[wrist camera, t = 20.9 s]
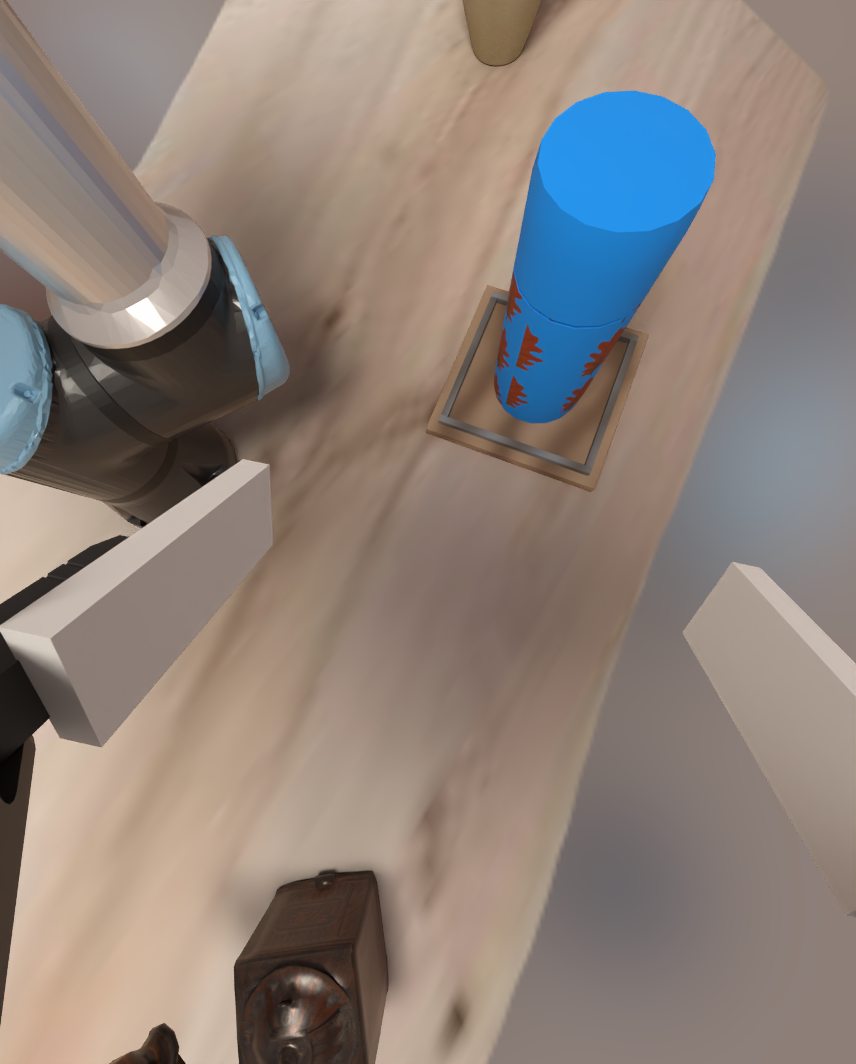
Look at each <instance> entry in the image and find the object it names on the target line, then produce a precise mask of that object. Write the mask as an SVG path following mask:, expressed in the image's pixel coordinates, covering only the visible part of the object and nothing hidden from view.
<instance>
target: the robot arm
mask: <svg viewBox="0 0 856 1064" xmlns="http://www.w3.org/2000/svg"><path fill="white" fill-rule="evenodd" d="M0 250H1V251H2V252H3V253H5V254H6V255H7V256H8V257H10V258H11V259H12V260H13V261H15V262H16V263H17V264H18V265H20V266H21V267H22V268H23V269H25V270H26V271H27V272H28V273H30V274H31V275H32V276H33V277H35V278H36V279H37V280H38V281H40V282H41V283H42V284H43V285H45V286H46V294H47V301H48V305H49V308H50V311H51V313H52V315H53V316H50V317H48V318H46V319H44V320H42V321H36V320H35V319H33V318H32V317H31V316H30V315H29V314H27V313H26V312H24V311H23V310H20V309H16V308H12V307H10V306H8V305H5V304H0V474H5V475H8V476H12V477H16V478H19V479H23V480H27V481H30V482H34V483H38V484H41V485H45V486H49V487H52V488H56V489H60V490H63V491H67V492H71V493H74V494H78V495H82V496H85V497H89V498H93V499H96V500H100V501H102V502H104V503H105V504H106V505H108V506H109V507H110V508H111V509H113V510H114V511H115V512H117V513H118V514H119V515H120V516H122V517H123V518H124V519H125V520H127V521H128V522H130V523H131V524H133V525H135V526H137V527H140V528H142V529H140V530H139V531H137V532H136V533H134V534H133V535H131V536H130V537H126V536H121V535H119V536H117V537H114V538H111V539H109V540H106V541H103V542H101V543H98V544H95V545H92V546H90V547H89V548H87V549H86V550H84V551H83V552H81V553H79V554H78V555H76V556H75V557H73V558H72V559H70V560H69V561H68V563H67V564H66V565H65V564H62V565H61V566H59V567H58V568H56V569H54V570H53V571H51V572H50V573H48V576H47V577H46V578H45V577H42V578H40V579H39V580H37V581H36V582H34V583H33V584H31V585H30V586H28V587H26V588H25V589H23V590H22V591H20V592H19V593H17V594H15V595H14V596H12V597H11V598H9V599H8V600H6V601H5V602H3V603H1V604H0V1024H1V1016H2V1008H3V1000H4V992H5V984H6V977H7V969H8V961H9V953H10V945H11V937H12V929H13V922H14V914H15V906H16V898H17V890H18V882H19V875H20V867H21V859H22V851H23V843H24V835H25V828H26V820H27V812H28V804H29V796H30V788H31V780H32V773H33V765H34V757H35V749H36V748H35V743H34V738H33V736H32V734H33V733H34V732H35V731H36V730H37V729H38V728H39V727H40V726H42V725H43V724H44V723H45V722H46V721H47V720H48V719H50V721H51V723H52V725H53V726H54V728H55V730H56V732H57V734H58V735H59V737H60V738H62V739H67V740H71V741H76V742H80V743H85V744H89V745H93V746H98V747H103V745H104V744H105V743H106V742H107V741H108V739H109V738H110V737H111V736H112V735H113V734H114V732H115V731H116V730H117V729H118V728H119V726H120V725H121V724H122V723H123V722H124V721H125V719H126V718H127V717H128V716H129V715H130V713H131V712H132V711H133V710H134V709H135V708H136V706H137V705H138V704H139V703H140V702H141V700H142V699H143V698H144V697H145V696H146V694H147V693H148V692H149V691H150V690H151V689H152V687H153V686H154V685H155V684H156V683H157V681H158V680H159V679H160V678H161V677H162V676H163V674H164V673H165V672H166V671H167V670H168V668H169V667H170V666H171V665H172V664H173V663H174V661H175V660H176V659H177V658H178V657H179V655H180V654H181V653H182V652H183V651H184V650H185V648H186V647H187V646H188V645H189V644H190V642H191V641H192V640H193V639H194V638H195V637H196V635H197V634H198V633H199V632H200V631H201V629H202V628H203V627H204V626H205V625H206V624H207V622H208V621H209V620H210V619H211V618H212V616H213V615H214V614H215V613H216V612H217V611H218V609H219V608H220V607H221V606H222V605H223V603H224V602H225V601H226V600H227V599H228V598H229V596H230V595H231V594H232V593H233V592H234V590H235V589H236V588H237V587H238V586H239V584H240V583H241V582H242V581H243V580H244V579H245V577H246V576H247V575H248V574H249V573H250V571H251V570H252V569H253V568H254V567H255V566H256V564H257V563H258V562H259V561H260V560H261V558H262V557H263V556H264V555H265V554H266V553H267V551H268V550H269V549H270V548H271V547H272V545H273V532H272V509H271V487H270V465H269V464H264V463H260V462H255V461H250V460H245V459H242V460H241V461H240V462H238V463H237V460H236V456H235V452H234V450H233V447H232V445H231V443H230V442H229V440H228V439H227V437H226V436H225V435H224V434H223V433H222V432H221V431H220V430H218V429H217V428H216V427H214V426H213V425H212V424H210V422H212V421H214V420H216V419H219V418H221V417H223V416H225V415H227V414H229V413H231V412H233V411H236V410H238V409H240V408H242V407H244V406H246V405H248V404H250V403H253V402H255V401H259V400H261V399H262V398H263V396H264V395H266V394H267V393H269V392H271V391H272V390H274V389H276V388H278V387H279V386H281V385H283V384H284V383H285V382H286V381H287V379H288V378H289V375H290V365H289V361H288V359H287V356H286V354H285V351H284V349H283V347H282V344H281V342H280V340H279V338H278V335H277V333H276V331H275V329H274V326H273V324H272V322H271V320H270V318H269V316H268V314H267V312H266V310H265V307H264V305H263V303H262V301H261V298H260V296H259V293H258V291H257V289H256V287H255V285H254V282H253V280H252V278H251V276H250V274H249V272H248V270H247V268H246V266H245V263H244V261H243V259H242V257H241V255H240V253H239V251H238V249H237V247H236V245H235V243H234V242H233V240H232V239H231V238H230V237H228V236H224V235H222V236H219V237H218V236H213V235H212V236H211V237H210V238H208V239H207V237H206V236H205V234H204V233H203V231H202V230H201V229H200V227H199V226H198V225H197V224H196V223H195V221H194V220H193V219H192V218H191V217H190V216H188V215H187V214H186V213H184V212H183V211H181V210H179V209H177V208H174V207H172V206H169V205H166V204H162V203H157V202H154V201H153V200H152V199H151V197H150V196H149V194H148V193H147V192H146V190H145V189H144V188H143V186H142V185H141V184H140V182H139V181H138V179H137V178H136V177H135V175H134V174H133V173H132V171H131V170H130V169H129V168H128V166H127V164H126V163H125V162H124V160H123V159H122V158H121V156H120V155H119V154H118V152H117V151H116V149H115V148H114V147H113V145H112V144H111V143H110V141H109V140H108V138H107V137H106V136H105V134H104V133H103V132H102V131H101V129H100V128H99V126H98V125H97V123H96V122H95V121H94V119H93V118H92V117H91V115H90V114H89V113H88V111H87V110H86V108H85V107H84V106H83V105H82V103H81V102H80V100H79V99H78V98H77V96H76V95H75V93H74V92H73V91H72V89H71V88H70V87H69V85H68V84H67V83H66V81H65V80H64V78H63V77H62V76H61V74H60V73H59V72H58V71H57V69H56V68H55V66H54V65H53V63H52V62H51V61H50V59H49V58H48V57H47V55H46V54H45V52H44V51H43V50H42V48H41V47H40V46H39V44H38V43H37V42H36V40H35V39H34V37H33V36H32V35H31V33H30V32H29V31H28V29H27V28H26V27H25V25H24V24H23V23H22V21H21V20H20V18H19V17H18V16H17V14H16V13H15V12H14V10H13V9H12V7H11V6H10V5H9V3H8V2H7V1H6V0H0ZM682 633H683V635H684V636H685V638H686V640H687V641H688V643H689V645H690V647H691V648H692V650H693V652H694V653H695V655H696V657H697V659H698V660H699V662H700V664H701V666H702V668H703V669H704V671H705V673H706V674H707V676H708V678H709V680H710V681H711V683H712V685H713V687H714V688H715V690H716V692H717V693H718V695H719V697H720V699H721V700H722V702H723V704H724V706H725V707H726V709H727V711H728V712H729V714H730V716H731V718H732V719H733V721H734V723H735V724H736V726H737V728H738V730H739V732H740V733H741V735H742V737H743V739H744V740H745V742H746V744H747V745H748V747H749V749H750V751H751V752H752V754H753V756H754V757H755V759H756V761H757V763H758V764H759V766H760V768H761V770H762V771H763V773H764V775H765V777H766V778H767V780H768V782H769V784H770V785H771V787H772V789H773V790H774V792H775V794H776V796H777V797H778V799H779V801H780V803H781V804H782V806H783V808H784V810H785V811H786V813H787V815H788V817H789V818H790V820H791V822H792V823H793V825H794V827H795V829H796V830H797V832H798V834H799V836H800V837H801V839H802V841H803V842H804V844H805V846H806V848H807V849H808V851H809V853H810V855H811V856H812V858H813V860H814V861H815V863H816V865H817V867H818V869H819V870H820V872H821V874H822V875H823V877H824V879H825V881H826V882H827V884H828V886H829V888H830V889H831V891H832V893H833V894H834V896H835V898H836V900H837V901H838V903H839V905H840V906H841V908H842V910H843V912H844V913H845V915H847V916H852V917H856V664H855V663H854V662H853V661H852V660H851V659H850V658H849V657H848V656H847V655H846V654H845V653H844V652H843V651H842V650H841V649H840V648H839V647H838V646H837V645H836V644H835V643H834V642H833V641H832V640H831V639H830V638H829V637H828V636H827V635H826V634H825V633H824V632H823V631H822V630H821V629H820V628H819V627H818V625H816V624H815V623H814V621H812V620H811V618H810V617H808V615H807V614H805V612H803V610H802V609H801V608H799V606H797V605H796V603H795V602H793V600H792V599H791V598H790V597H789V596H788V595H787V594H786V593H784V591H783V590H782V589H781V588H780V587H779V586H778V585H777V584H776V583H775V582H774V581H773V580H772V579H771V578H770V577H769V576H768V575H767V574H766V573H765V572H764V571H763V570H762V569H761V568H759V567H753V566H749V565H744V564H740V563H735V562H732V563H731V565H730V566H729V567H728V569H727V570H726V572H725V573H724V574H723V576H722V577H721V579H720V580H719V581H718V583H717V584H716V586H715V587H714V588H713V590H712V591H711V593H710V594H709V596H708V597H707V599H706V600H705V601H704V603H703V604H702V605H701V607H700V608H699V610H698V611H697V613H696V614H695V615H694V617H693V618H692V619H691V621H690V622H689V624H688V625H687V626H686V628H685V629H684V631H683V632H682Z"/></svg>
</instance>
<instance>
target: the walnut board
mask: <svg viewBox="0 0 856 1064" xmlns="http://www.w3.org/2000/svg"><path fill="white" fill-rule="evenodd" d="M508 296H509V292H508V291H505V290H501V289H498V288H495V287H491V286H488V285H487V287H486V289H485V292H484V294H483V296H482V299H481V301H480V303H479V306H478V308H477V310H476V313H475V315H474V317H473V320H472V322H471V324H470V327H469V329H468V332H467V334H466V336H465V339H464V341H463V343H462V346H461V348H460V350H459V353H458V355H457V357H456V360H455V362H454V364H453V367H452V369H451V371H450V374H449V376H448V378H447V381H446V383H445V385H444V388H443V390H442V392H441V395H440V397H439V399H438V402H437V404H436V406H435V409H434V411H433V413H432V416H431V418H430V420H429V423H428V425H427V427H426V433H428V434H431V435H434V436H437V437H440V438H442V439H445V440H448V441H451V442H454V443H456V444H459V445H462V446H465V447H467V448H470V449H473V450H476V451H479V452H481V453H484V454H487V455H490V456H493V457H495V458H498V459H501V460H504V461H506V462H509V463H512V464H515V465H518V466H520V467H523V468H526V469H529V470H532V471H534V472H537V473H540V474H543V475H545V476H548V477H551V478H554V479H557V480H559V481H562V482H565V483H568V484H571V485H573V486H576V487H579V488H582V489H584V490H587V491H590V492H591V491H593V490H594V489H595V486H596V484H597V481H598V478H599V475H600V472H601V469H602V467H603V464H604V461H605V458H606V455H607V452H608V449H609V447H610V444H611V441H612V438H613V435H614V432H615V430H616V427H617V424H618V421H619V418H620V415H621V412H622V410H623V407H624V404H625V401H626V398H627V395H628V392H629V390H630V387H631V384H632V381H633V378H634V375H635V373H636V370H637V367H638V364H639V361H640V358H641V355H642V353H643V350H644V347H645V344H646V341H647V338H648V336H649V335H648V334H645V333H642V332H638V331H635V330H632V329H629V328H625V329H624V331H623V333H622V334H621V336H620V337H619V339H618V341H617V342H616V344H615V345H614V347H613V348H612V350H611V352H610V353H609V355H608V356H607V358H606V359H605V361H604V363H603V364H602V366H601V367H600V369H599V370H598V372H597V374H596V375H595V377H594V378H593V380H592V381H591V383H590V385H589V386H588V388H587V389H586V391H585V392H584V394H583V395H582V396H581V398H580V399H579V400H578V402H577V403H576V404H575V405H574V407H573V408H572V409H571V410H570V411H569V412H567V413H566V414H565V415H564V416H563V417H561V418H559V419H557V420H554V421H551V422H548V423H528V422H525V421H522V420H518V419H516V418H515V417H513V416H512V415H511V414H509V413H508V412H506V411H505V410H504V408H503V407H502V405H501V404H500V402H499V401H498V399H497V397H496V393H495V388H494V377H495V366H496V360H497V354H498V349H499V344H500V338H501V333H502V328H503V322H504V317H505V312H506V307H507V301H508Z"/></svg>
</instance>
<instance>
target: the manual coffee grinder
mask: <svg viewBox="0 0 856 1064" xmlns="http://www.w3.org/2000/svg"><path fill="white" fill-rule="evenodd" d="M234 986H235V1001H236V1023H237V1042H238V1056H239V1064H375V1060H376V1054H377V1049H378V1043H379V1037H380V1031H381V1025H382V1019H383V1013H384V1007H385V1001H386V995H387V991H388V977H387V959H386V951H385V943H384V935H383V927H382V918H381V910H380V902H379V895H378V888H377V881H376V879H375V877H374V875H373V872H372V871H371V872H359V873H345V874H333V873H332V874H324V875H320V876H316V878H313V879H309V880H304V881H299V882H295V883H292V884H289V885H287V886H284V887H282V888H279V889H277V892H276V895H275V897H274V899H273V901H272V902H271V904H270V906H269V908H268V909H267V911H266V913H265V914H264V916H263V918H262V919H261V921H260V922H259V924H258V926H257V927H256V929H255V931H254V933H253V934H252V936H251V938H250V939H249V941H248V943H247V944H246V946H245V948H244V949H243V951H242V953H241V954H240V956H239V957H238V959H237V960H236V962H235V965H234ZM178 1052H179V1045H178V1042H177V1038H176V1035H175V1032H174V1031H173V1030H172V1029H171V1028H170V1027H169V1026H167V1025H166V1024H165V1023H163V1024H161V1025H159V1026H156V1027H154V1028H152V1030H151V1031H150V1033H149V1036H148V1038H147V1039H146V1041H145V1042H144V1044H143V1046H142V1047H141V1048H140V1049H139V1050H136V1051H132V1052H129V1053H127V1054H125V1055H123V1056H121V1057H119V1058H117V1059H115V1060H113V1061H112V1062H111V1063H110V1064H185V1062H184V1061H183V1059H182V1058H181V1057H180V1055H179V1054H178Z"/></svg>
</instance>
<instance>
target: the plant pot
mask: <svg viewBox="0 0 856 1064" xmlns="http://www.w3.org/2000/svg"><path fill="white" fill-rule="evenodd" d="M540 3H541V0H463V5H464V10H465V15H466V20H467V25H468V29H469V34H470V38H471V42H472V47H473V50H474V53H475V55H476V57H477V58H478V59H479V60H480V61H482V62H483V63H485V64H488V65H495V66H497V65H505V64H508V63H510V62H512V61H514V60H515V59H516V58H517V57H518V56H519V55H520V54H521V52H522V49H523V47H524V45H525V42H526V40H527V37H528V35H529V32H530V30H531V27H532V25H533V22H534V19H535V17H536V14H537V11H538V8H539V6H540Z"/></svg>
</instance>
